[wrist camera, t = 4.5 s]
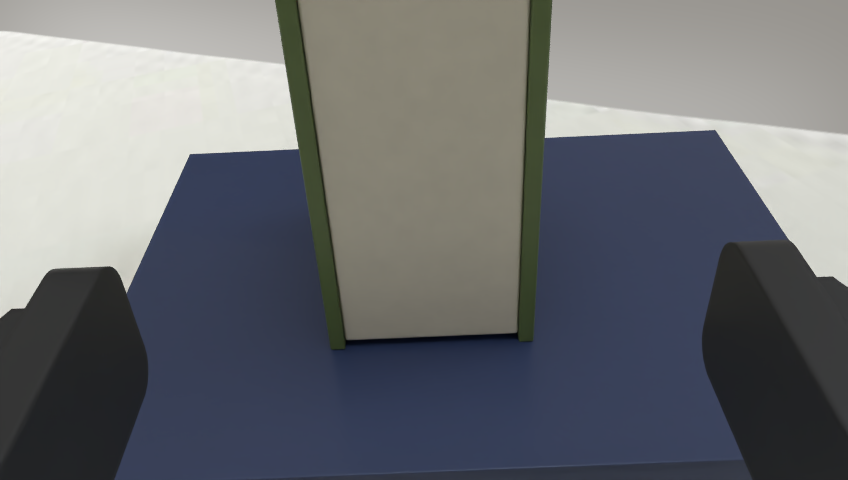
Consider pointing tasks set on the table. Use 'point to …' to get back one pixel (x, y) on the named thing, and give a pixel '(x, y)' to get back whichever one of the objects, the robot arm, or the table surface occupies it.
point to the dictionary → (421, 160)
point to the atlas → (445, 355)
